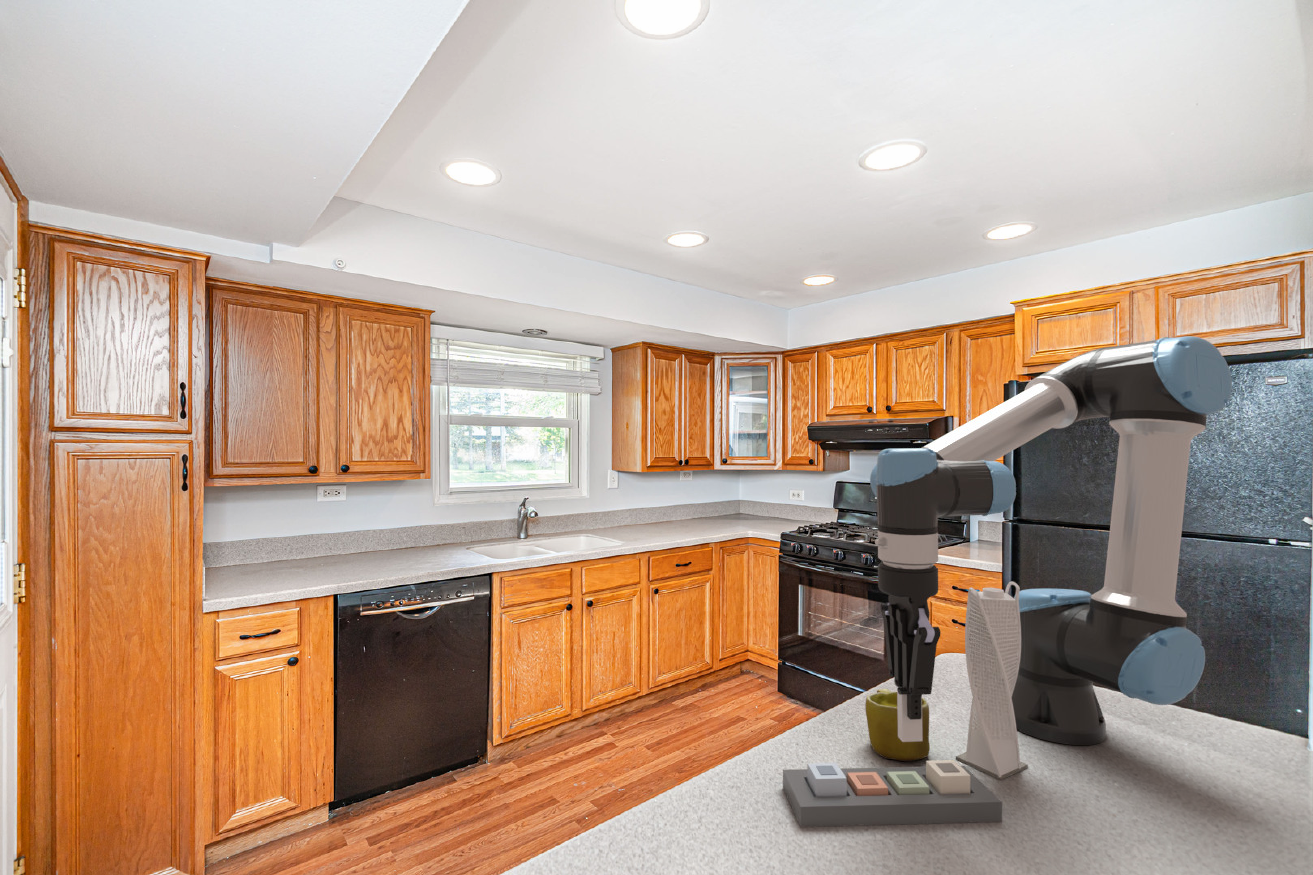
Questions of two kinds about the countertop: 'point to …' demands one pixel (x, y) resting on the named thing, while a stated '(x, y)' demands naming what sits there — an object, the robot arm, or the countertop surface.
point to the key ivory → (947, 777)
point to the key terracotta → (866, 784)
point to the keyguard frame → (889, 803)
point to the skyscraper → (993, 680)
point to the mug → (893, 728)
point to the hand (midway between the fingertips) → (910, 738)
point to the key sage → (907, 783)
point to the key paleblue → (826, 780)
